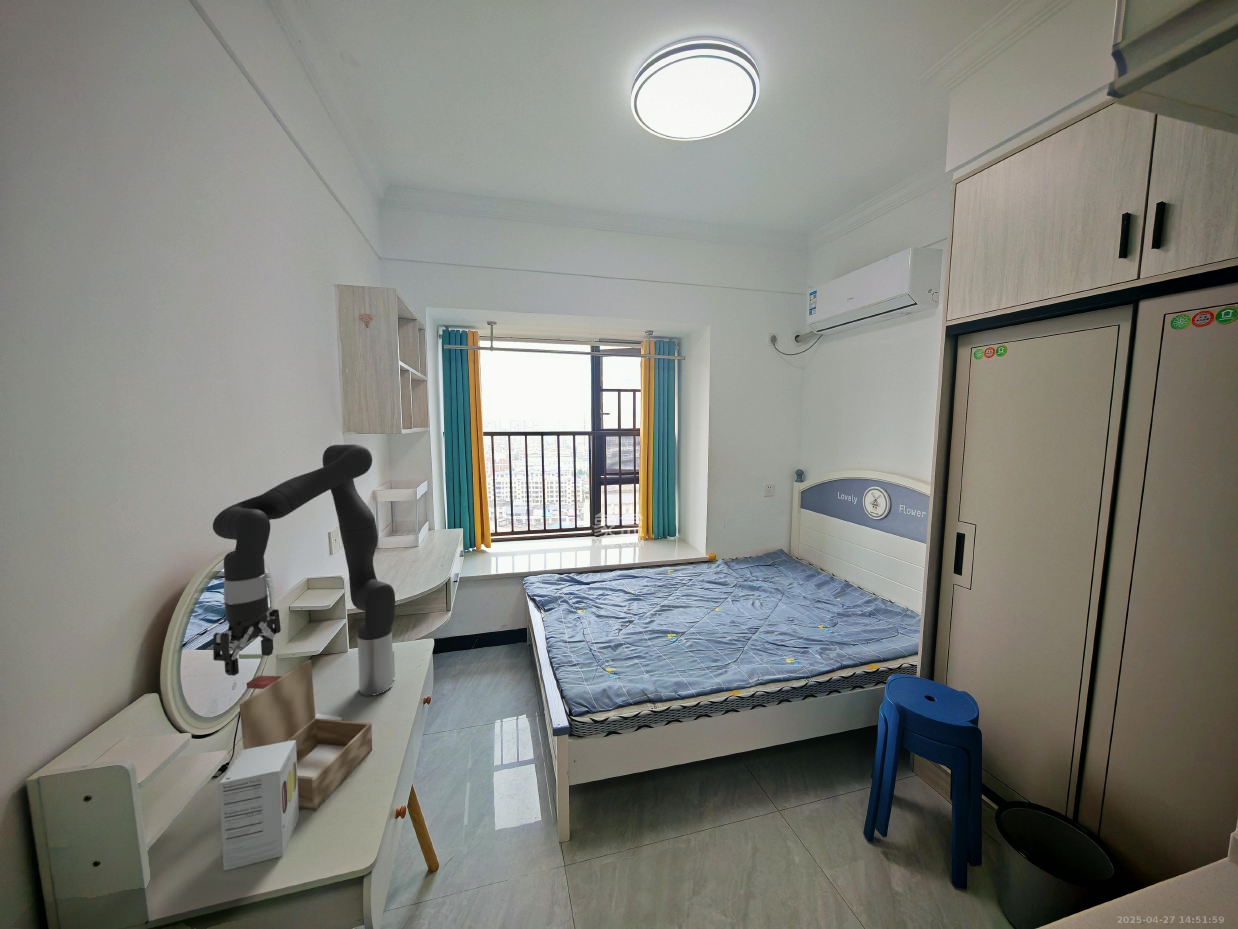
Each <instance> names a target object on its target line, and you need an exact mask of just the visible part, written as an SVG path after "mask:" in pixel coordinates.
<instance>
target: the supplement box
mask: <svg viewBox="0 0 1238 929" xmlns="http://www.w3.org/2000/svg"><path fill="white" fill-rule="evenodd" d="M218 788H219V789H218V790H219V792H218V793H219V808H220V826H221V844H222V845H221V846H222V859H223V863H222V864H223V871H224V870H226V871H228V870H229V871H230V870H232V869H233V870H234V869H237V868H241V867H244V866H248V865H253V864H257V863H260V862H264V861H269V860H272V859H277V858H280V857H283V856H284V855H285V854H284V853H285V852H286V849H287V846H288V845H289V843H290V840H291V839H292V838H291V837H292V835H293V833H294V830H295V829H296V825H297V824H298V822H299V819H300V811H299V810H300V809H299V803H298V780H297V754H296V740H293V741H286V742H281V743H276V744H271V745H266V746H260V747H255V748H250V749H245V750H244V749H241V751H240V752H239V754H238V755H237V757H236V759H235V761H234V762H233V763H232V765H231V766H230V768H229V769H228V770H227V772H226V773H225V775H224V776H223V777H222V778H221V780H220V782H219V783H218Z"/></svg>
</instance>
